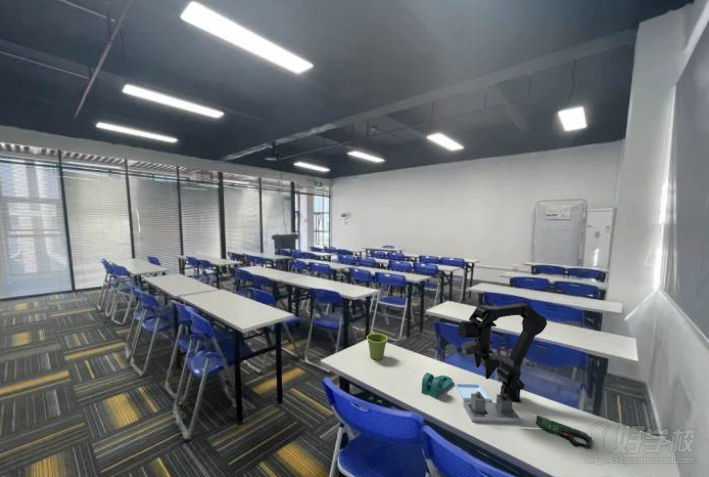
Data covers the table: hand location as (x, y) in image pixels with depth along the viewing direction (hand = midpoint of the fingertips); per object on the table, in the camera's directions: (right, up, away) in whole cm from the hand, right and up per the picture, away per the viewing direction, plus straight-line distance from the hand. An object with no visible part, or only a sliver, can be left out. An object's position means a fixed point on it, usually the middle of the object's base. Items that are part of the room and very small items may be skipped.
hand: (482, 372), depth 118 cm
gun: (+21, -14, -17) cm, 31 cm away
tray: (-2, -12, +6) cm, 14 cm away
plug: (-6, -12, -8) cm, 16 cm away
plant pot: (-41, -10, +39) cm, 57 cm away
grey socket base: (0, -13, -8) cm, 15 cm away
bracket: (-15, -12, +10) cm, 22 cm away
